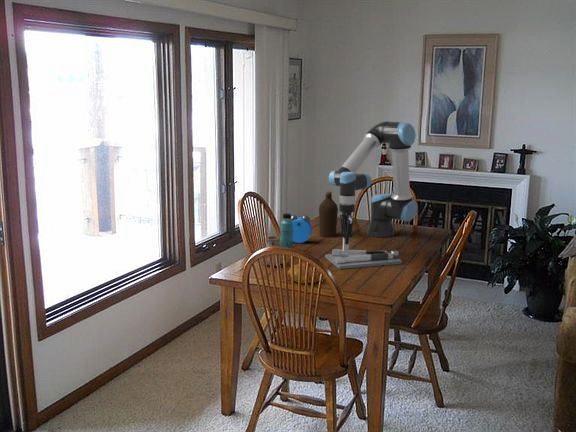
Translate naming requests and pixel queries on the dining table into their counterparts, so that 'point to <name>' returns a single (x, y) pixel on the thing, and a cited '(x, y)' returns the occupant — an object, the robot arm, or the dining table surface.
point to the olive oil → (328, 217)
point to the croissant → (302, 273)
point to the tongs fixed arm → (367, 257)
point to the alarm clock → (301, 228)
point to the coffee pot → (273, 242)
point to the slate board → (362, 262)
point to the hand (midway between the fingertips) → (345, 249)
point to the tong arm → (354, 252)
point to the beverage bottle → (286, 231)
